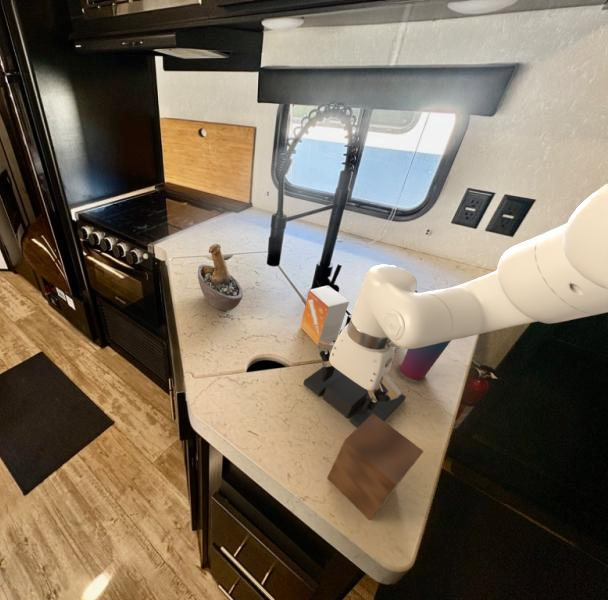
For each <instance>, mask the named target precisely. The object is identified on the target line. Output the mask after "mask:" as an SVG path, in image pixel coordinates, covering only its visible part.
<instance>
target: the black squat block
mask: <svg viewBox="0 0 608 600" xmlns="http://www.w3.org/2000/svg"><path fill="white" fill-rule="evenodd" d="M367 394H368V391H367V390H365V389H364V388H362V387H361V386H360V385H358V384H357V383H355V382H354V381H353V380H351V379H350V378H348V377H347V376H345V375H344V374H343V375H341V376H340V377H339V378H337V379H336V380H335V381H334V382H332V383H331V384H330V385H328V386H327V387H326V390H325V392H323V396H322V400H324V401H325V402H326V403H328V404H329V405H330V406H331V408H332V407H333V409H335V410H336V411H337V412H339V414H341V415H342V416H343V417H345V418H346V419H348V417H351V416H352V415H353V413H354V412H355V411H356V410H358V408H359V409H360V408H361V407H362V406H363V405H364V400H365V398H366V396H367Z"/></svg>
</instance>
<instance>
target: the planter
mask: <svg viewBox="0 0 608 600" xmlns="http://www.w3.org/2000/svg"><path fill="white" fill-rule="evenodd" d="M208 253H209V254H210V255H211V258H212V259H211V260H212V262H213V265H209V264H200V265H199V266H198V269H197V278H198V283H199V287H200V290H201V292H202V294H203V297H204V299H206V301H207V302H208V303H209V305H211V306H212V307H214V309H216V310H219V311H222V312H223V311H224V312H226V311H232V310H234V309H235V308H236V307H238V305H239V304H240V302H241V301H242V299H243V295H244V293H243V292H244V291H243V289H242V286H241V285H240V283H239V281H238V280H237V279H236V278H235V277H234V276H233V275H231V274H230V273H229V270H228V266H227V263H226V260H225V258H224V255H223V253H222V250H221V244H219V243H214V244H211V246H209V249H208Z"/></svg>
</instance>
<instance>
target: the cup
mask: <svg viewBox="0 0 608 600" xmlns="http://www.w3.org/2000/svg"><path fill="white" fill-rule="evenodd" d="M451 342H452V340H450V341H446V342H441V343H437V344H433V345H429V346H424V347H420V348H414V349H407V351H406V353H405V355H404V358H403V360H402V363H401V365H400V367H399V368H400V371H401V373H402V374H403V375H404V376H405V377H407V378H408V379H412V380H415V381H420V380H423V379H424V378H425V377H426V375H428V373H429V372H430V370H431V369H432V367H433V366H434V365H435V363H436V362H437V360H438V359H439V358H440V356H441V355H442V353H443V352H444V351H445V350H446V348H447V347H448V346H449V345H450V343H451Z"/></svg>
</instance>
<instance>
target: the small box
mask: <svg viewBox="0 0 608 600" xmlns="http://www.w3.org/2000/svg"><path fill="white" fill-rule="evenodd" d="M349 304H350V301H349V300H348V299H346V297H344V296H343V295H342V294H340V293H339V292H338V291H336V290H335V289H334V288H333V287H331V286H330V285H324V286H319V287H315V288H311V289H309V290H308V293H307V297H306V302H305V306H304V310H303V314H302V319H301V323H300V329H301V330H302V331H304V333H305V334H306V335H307V336H308V337H309V338H310V339H311V340H312V341H313V342H314V344H315V345H317V346H318V347H319V345H318V343H319V342H321V341H322V340H325V341H330V342H336V340H337V338H338V336H339V335H340V332H341V328H342V325H343V322H344V319H345V315H346V313H347V309H348V307H349Z"/></svg>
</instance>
